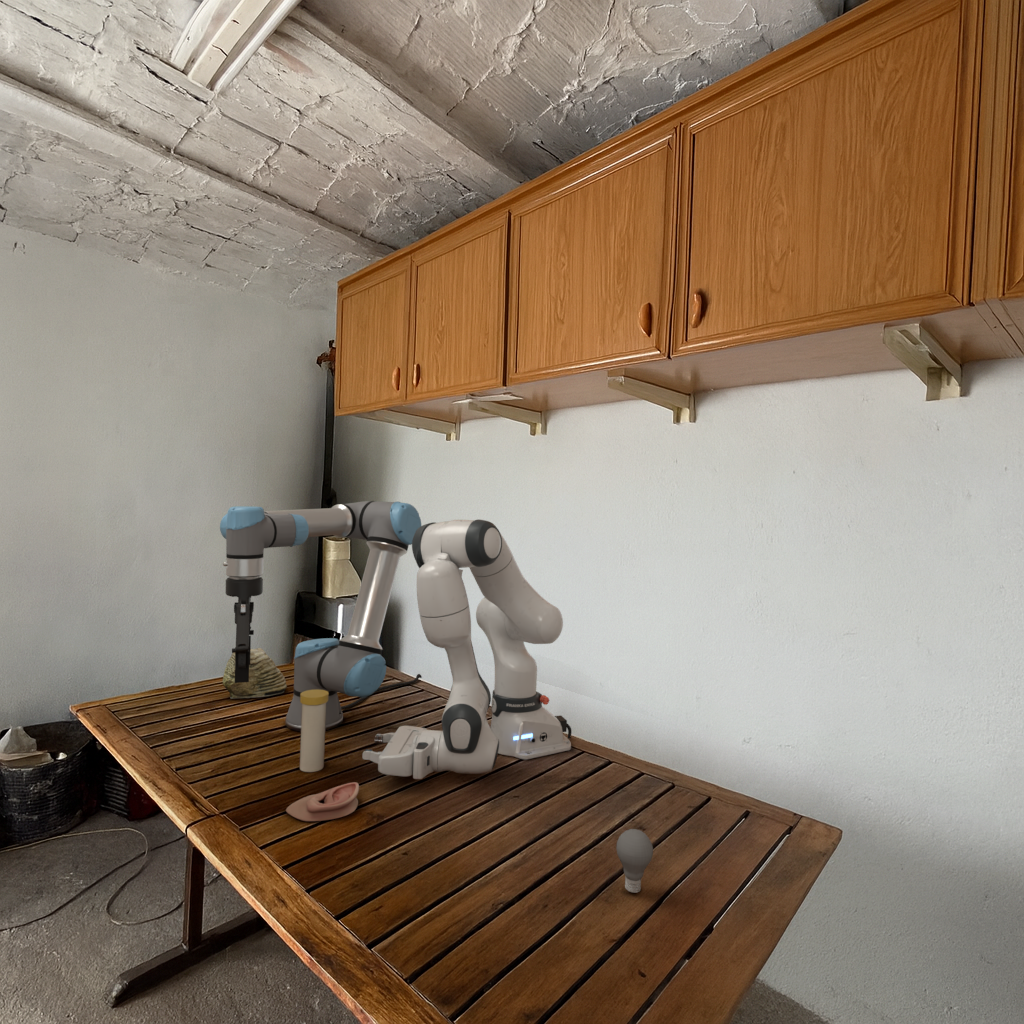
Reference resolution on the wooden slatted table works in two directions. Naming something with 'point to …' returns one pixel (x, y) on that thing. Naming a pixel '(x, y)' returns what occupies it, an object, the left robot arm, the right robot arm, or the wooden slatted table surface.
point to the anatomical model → (326, 804)
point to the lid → (314, 697)
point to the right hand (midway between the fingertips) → (369, 746)
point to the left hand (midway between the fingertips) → (242, 673)
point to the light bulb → (634, 857)
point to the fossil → (255, 677)
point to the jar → (312, 737)
